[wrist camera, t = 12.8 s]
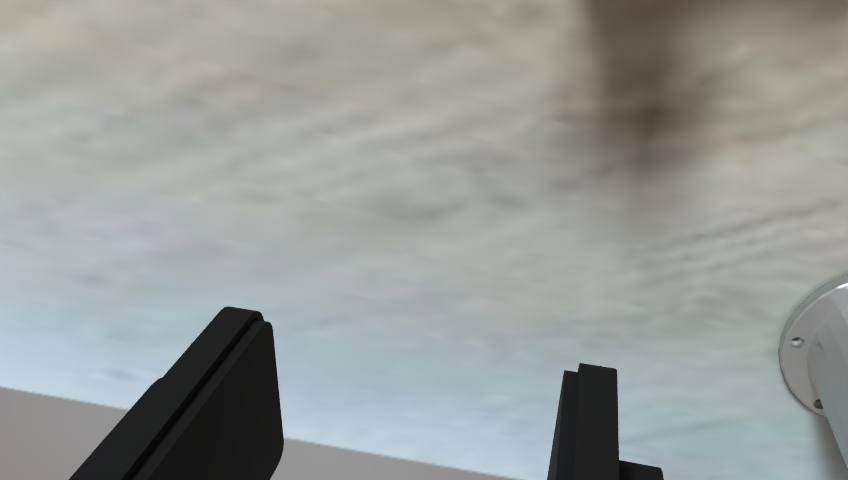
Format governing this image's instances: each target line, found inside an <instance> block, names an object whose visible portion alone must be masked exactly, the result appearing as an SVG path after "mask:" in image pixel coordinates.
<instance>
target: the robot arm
mask: <svg viewBox="0 0 848 480" xmlns="http://www.w3.org/2000/svg"><path fill="white" fill-rule="evenodd" d="M779 358H780V365H781V368H782V371H783V374H784V377H785V380H786V381H787V383H788V385H789V387H790V389H791V391H792V392H793V393H794V394H795V395H796V397H797V398H798V399H799V400H800V401H801V402H802V403H803V404H804V405H806V406H807V407H808V408H810V409H811V410H812V411H814V412H816V413H818V414H820V415H822V416H824V417H826V418H827V419H828V421H829V424H830V426H831V429H832V431H833V434H834V436H835V439H836V441H837V444H838V446H839V449H840V451H841V454H842V456H843V459H844V461H845V464H846V466H847V469H848V275H846V276H843V277H841V278H838V279H836V280H834V281H832V282H830V283H828V284H826V285H824V286H823V287H821V288H820V289H818V290H817V291H815V292H814V293H813V294H811V295H810V296H808V297H807V298H806V299H805V300H804V301H803V302H802V303H801V304H800V305H799V306H798V307H797V308H796V309H795V311H794V312H793V314H792V315H791V317H790V318H789V319H788V321H787V322H786V325H785V327H784V330H783V332H782V335H781V338H780V345H779ZM283 445H284V439H283V429H282V419H281V409H280V399H279V388H278V378H277V368H276V358H275V348H274V338H273V329H272V325H271V323H270V322H266V321H264V319H263V316H262V314H261V313H260V312H258V311H253V310H247V309H241V308H235V307H224V308H223V309H222V310H221V311H220V312H219V313H218V314H217V315H216V317H215V318H214V319H213V320H212V321H211V322H210V323H209V325H208V326H207V327H206V328H205V329H204V330H203V332H202V333H201V334H200V335H199V336H198V337H197V338H196V340H195V341H194V342H193V343H192V344H191V345H190V346H189V348H188V349H187V350H186V351H185V352H184V353H183V355H182V356H181V357H180V358H179V359H178V360H177V361H176V363H175V364H174V365H173V366H172V367H171V368H170V370H169V371H168V372H167V373H166V374H165V375H164V376H163V377H162V378H160V379H158V380H157V381H156V382H155V383H153V384H152V385H151V386H150V387H149V389H148V390H147V391H146V392H145V393H144V394H143V395H142V397H141V398H140V399H139V400H138V401H137V402H136V403H135V405H134V406H133V407H132V408H131V409H130V410H129V411H128V413H127V414H126V415H125V416H124V417H123V418H122V419H121V421H120V422H119V423H118V424H117V425H116V426H115V427H114V429H113V430H112V431H111V432H110V433H109V434H108V435H107V436H106V438H105V439H104V440H103V441H102V442H101V443H100V444H99V446H98V447H97V448H96V449H95V450H94V451H93V452H92V454H91V455H90V456H89V457H88V458H87V459H86V461H85V462H84V463H83V464H82V465H81V466H80V467H79V469H78V470H77V471H76V472H75V473H74V474H73V475H72V476H71V478H70V479H69V480H270V478H271V476H272V475H273V473H274V471H275V469H276V468H277V465H278V463H279V461H280V459H281V456H282V452H283ZM547 480H664V479H663V473H662V470H661V468H658V467H653V466H648V465H642V464H637V463H631V462H626V461H621V460H619V446H618V394H617V370H616V369H614V368H607V367H601V366H595V365H589V364H583V363H580V364H579V368H578V372H572V371H566V370H564V375H563V381H562V387H561V394H560V400H559V407H558V413H557V420H556V426H555V433H554V439H553V445H552V452H551V458H550V465H549V471H548V478H547Z"/></svg>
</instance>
